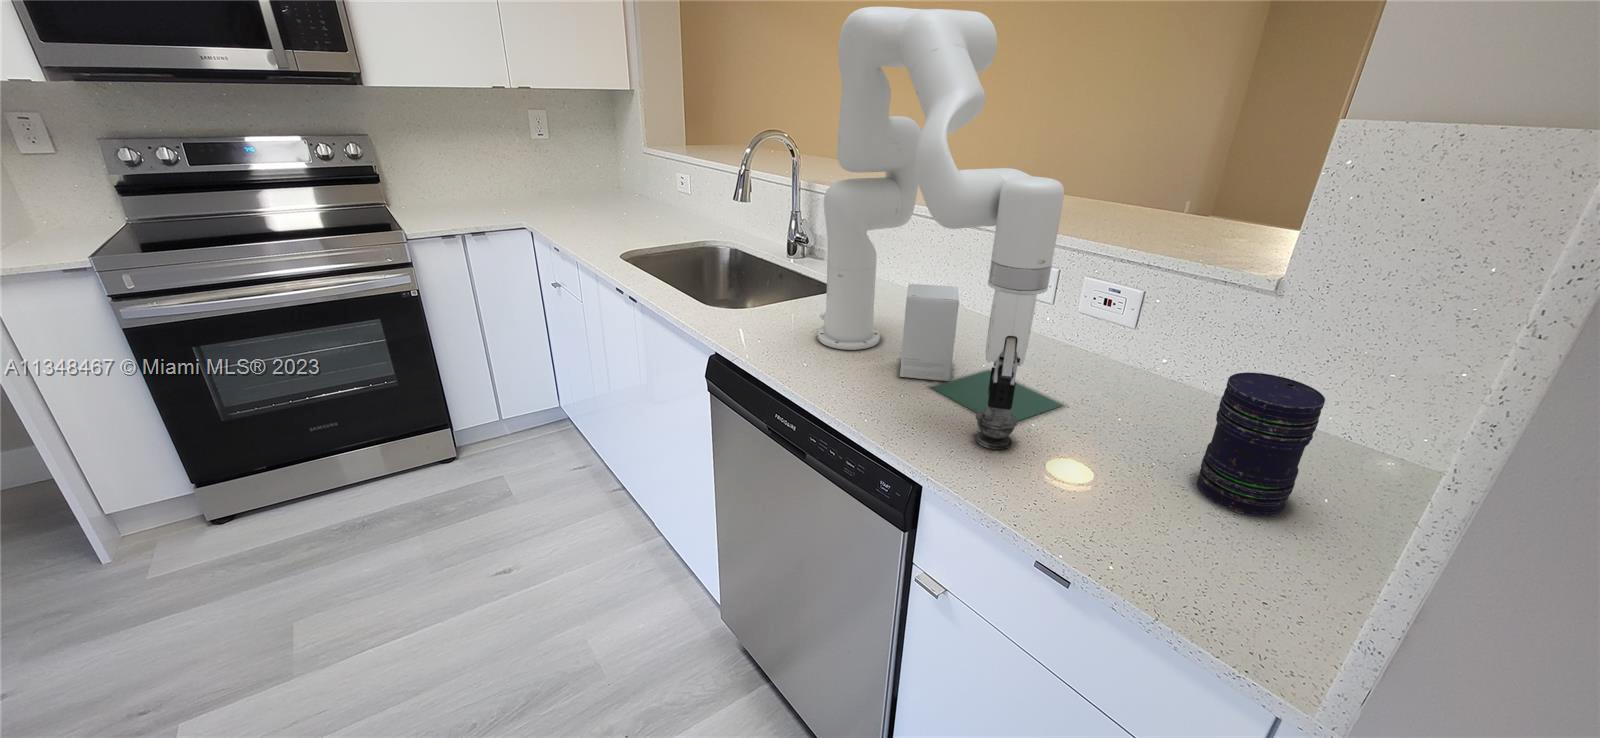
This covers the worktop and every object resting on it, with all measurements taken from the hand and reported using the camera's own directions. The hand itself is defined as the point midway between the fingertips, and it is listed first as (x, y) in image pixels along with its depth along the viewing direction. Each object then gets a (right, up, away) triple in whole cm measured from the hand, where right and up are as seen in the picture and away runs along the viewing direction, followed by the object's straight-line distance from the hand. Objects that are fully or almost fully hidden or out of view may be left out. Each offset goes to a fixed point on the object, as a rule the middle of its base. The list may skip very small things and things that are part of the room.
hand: (999, 399), depth 92 cm
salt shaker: (0, -6, +3) cm, 7 cm away
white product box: (-6, +4, +26) cm, 27 cm away
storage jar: (+28, -12, -9) cm, 32 cm away
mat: (+4, 0, +16) cm, 17 cm away
